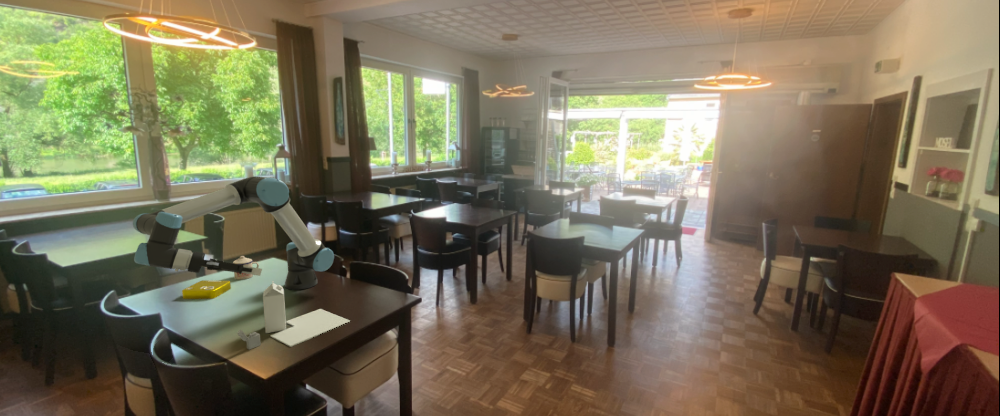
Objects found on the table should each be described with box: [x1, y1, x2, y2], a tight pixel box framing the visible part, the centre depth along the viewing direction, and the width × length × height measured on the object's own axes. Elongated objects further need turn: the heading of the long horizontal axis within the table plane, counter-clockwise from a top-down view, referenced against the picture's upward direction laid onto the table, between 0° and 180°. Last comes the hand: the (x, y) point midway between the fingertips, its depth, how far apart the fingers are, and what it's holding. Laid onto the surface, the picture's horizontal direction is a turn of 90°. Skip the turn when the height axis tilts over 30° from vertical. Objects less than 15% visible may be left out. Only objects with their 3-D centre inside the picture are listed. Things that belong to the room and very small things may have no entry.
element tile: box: [181, 279, 232, 300], centre depth 201 cm, size 15×15×5 cm
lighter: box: [236, 329, 262, 350], centre depth 150 cm, size 7×2×8 cm, turn 149°
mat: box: [269, 308, 351, 348], centre depth 168 cm, size 26×21×1 cm
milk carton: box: [262, 282, 287, 334], centre depth 165 cm, size 7×7×19 cm
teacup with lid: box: [232, 255, 260, 280], centre depth 225 cm, size 12×9×12 cm
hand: (260, 272), depth 165 cm, fingers closed
